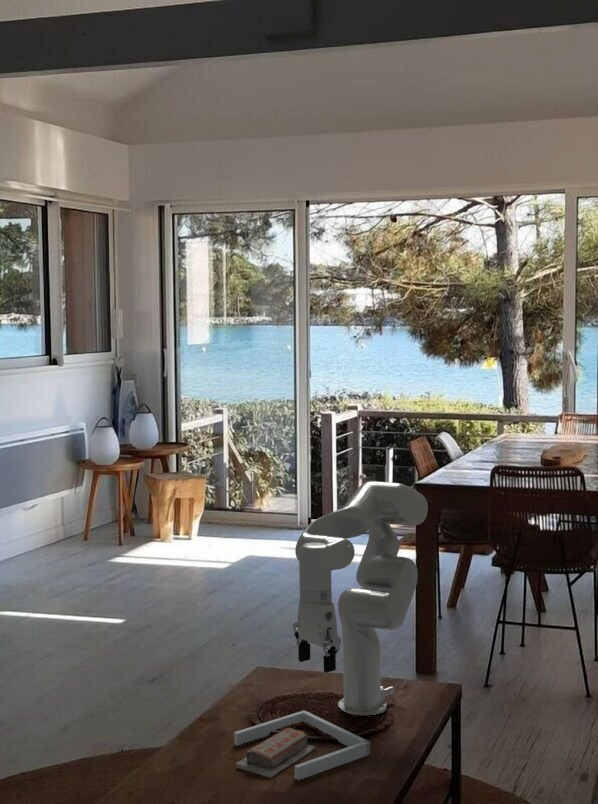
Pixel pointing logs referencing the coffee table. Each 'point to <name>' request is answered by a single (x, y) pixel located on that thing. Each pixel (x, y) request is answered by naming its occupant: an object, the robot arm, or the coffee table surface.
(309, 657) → the robot arm
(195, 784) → the coffee table surface
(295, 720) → the open frame
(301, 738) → the packaged product
